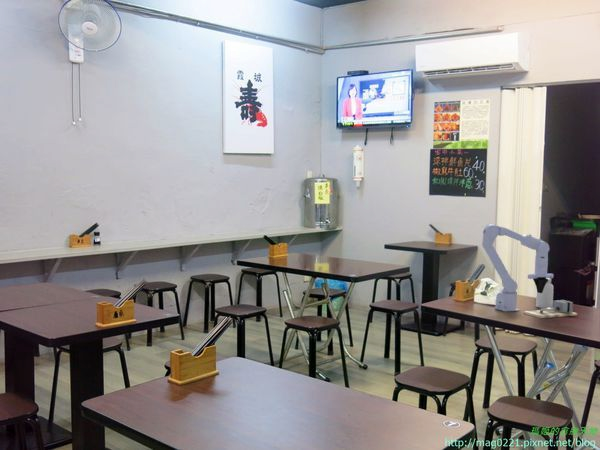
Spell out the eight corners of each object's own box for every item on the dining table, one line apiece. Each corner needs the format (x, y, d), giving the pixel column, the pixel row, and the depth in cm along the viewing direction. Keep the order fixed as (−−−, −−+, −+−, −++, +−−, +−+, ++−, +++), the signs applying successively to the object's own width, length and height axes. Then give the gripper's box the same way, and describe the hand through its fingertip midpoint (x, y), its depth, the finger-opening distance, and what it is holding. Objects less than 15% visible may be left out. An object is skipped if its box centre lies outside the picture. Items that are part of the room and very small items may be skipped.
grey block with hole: (562, 312, 299) (562, 302, 299) (553, 310, 305) (553, 300, 304) (567, 312, 300) (567, 302, 300) (557, 309, 306) (558, 300, 305)
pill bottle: (555, 309, 314) (556, 279, 313) (539, 308, 314) (540, 279, 313) (549, 305, 322) (550, 277, 321) (533, 305, 322) (534, 276, 321)
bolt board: (540, 318, 291) (540, 305, 290) (523, 313, 301) (524, 301, 300) (577, 315, 299) (577, 303, 299) (559, 310, 310) (560, 298, 309)
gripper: (535, 267, 298) (534, 294, 299) (558, 266, 304) (557, 293, 305) (525, 265, 305) (523, 292, 306) (548, 264, 310) (546, 291, 311)
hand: (539, 292), depth 306 cm, fingers closed
